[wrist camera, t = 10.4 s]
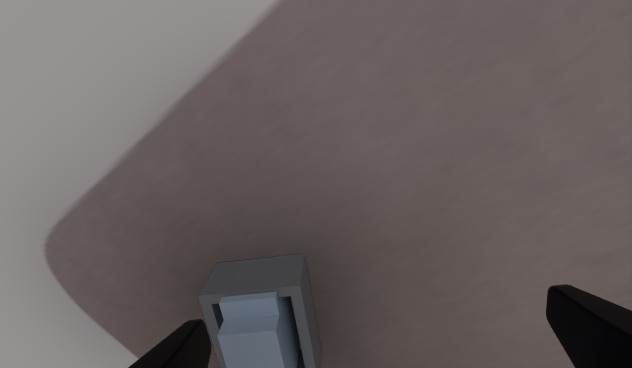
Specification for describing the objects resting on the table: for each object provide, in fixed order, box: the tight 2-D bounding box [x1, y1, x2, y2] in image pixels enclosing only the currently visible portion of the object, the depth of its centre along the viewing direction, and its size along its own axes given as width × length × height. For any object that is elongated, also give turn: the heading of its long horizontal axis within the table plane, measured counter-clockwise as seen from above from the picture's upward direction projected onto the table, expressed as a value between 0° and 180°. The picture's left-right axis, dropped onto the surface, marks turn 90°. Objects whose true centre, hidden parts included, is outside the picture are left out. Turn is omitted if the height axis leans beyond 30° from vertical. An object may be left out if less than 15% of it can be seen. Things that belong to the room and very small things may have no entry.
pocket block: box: [198, 253, 322, 368], centre depth 21 cm, size 8×6×3 cm
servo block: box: [217, 291, 300, 368], centre depth 20 cm, size 7×3×4 cm, turn 9°
